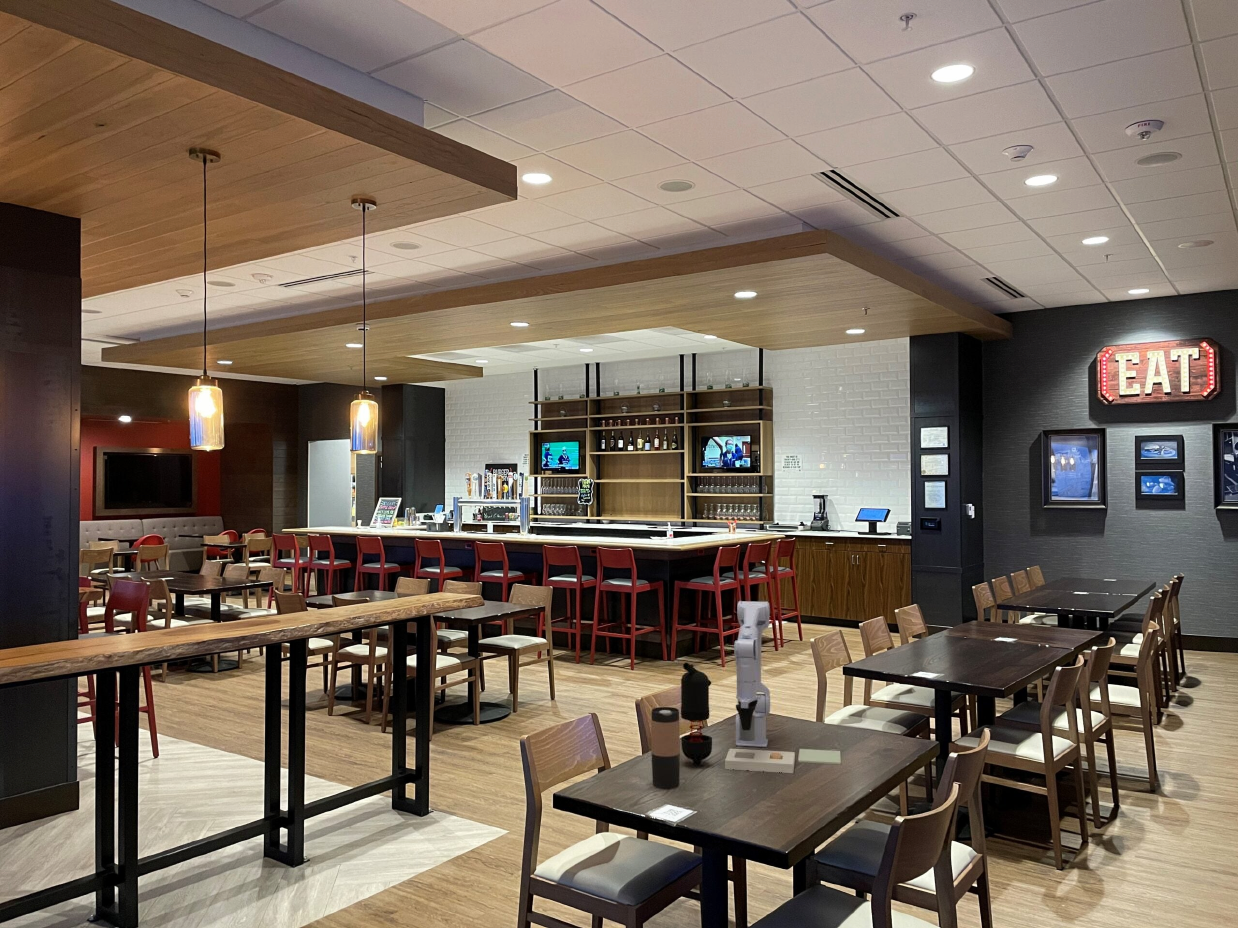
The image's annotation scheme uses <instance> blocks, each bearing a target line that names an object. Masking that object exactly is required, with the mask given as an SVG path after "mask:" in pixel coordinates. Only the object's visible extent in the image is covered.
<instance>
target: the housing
mask: <svg viewBox="0 0 1238 928" xmlns="http://www.w3.org/2000/svg"><path fill="white" fill-rule="evenodd" d="M772 753H779V754H781V759H771V754H772ZM795 756H796V752H794V751H779V750H778V751H777V750H762V749H761V750H760V749H747V748H746V749H744V748H742V749H741V748H729V749H728V752H727V755H726V757H725V760H724V764H725V765H724V769H725V770H730V771H731V770H733V769H734V770H733V771H746V770H749V772H750V771H751V772H763V771H764V773H779V772H780V773H781V772H782V773H781V774H794V770H795V763H796V761H795V760H796V757H795Z"/></svg>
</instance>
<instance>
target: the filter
mask: <svg viewBox="0 0 1238 928" xmlns="http://www.w3.org/2000/svg"><path fill="white" fill-rule="evenodd" d="M682 667H683V670H684V671H686V672H684V674H683V675H682V676H681V678H680V684H681V685H680V692H681V695H680V701H681V702H680V703H681V704H680V717H681V719H683V720H685V721H688V722H691V725H689V728H690V730H691V731H690V732H689V734H685V735H683V736H681V738H680V739H681V750H682V753H683V756H685V758H687V759H689V760H691V762H692V765H693V766H701V765H702V761H703V760H706V759H707V758H708V757H709V756H710V755H711V754H712V752H713V751H712V750H713V737H712V736H709V735H706V734H703V733H702V732H701V729H703V726H702V725H701V724H694V725H693V723H701V722H703V721H706V720H709V718H710V700H709V699H710V687H711V685H712V681H711V680H710V679H709V677H708V675H707V674H706V673H704V672H703V671H701V670H698V669H697V668H695V666H694V664H692V663H691V664H690V663H688V662H684V663H683V665H682ZM693 730H699V731H693Z"/></svg>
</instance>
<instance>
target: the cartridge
mask: <svg viewBox="0 0 1238 928" xmlns="http://www.w3.org/2000/svg"><path fill="white" fill-rule="evenodd" d="M739 735H740V740H742V741H753V740H755V711H754V712H753V715H752V722H751V728H750V730H743V729H742V725H741V720H740V716H739Z"/></svg>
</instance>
